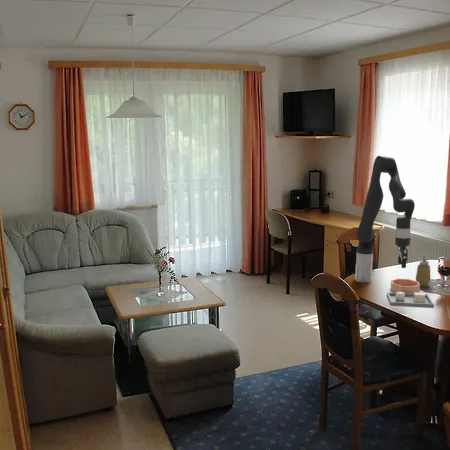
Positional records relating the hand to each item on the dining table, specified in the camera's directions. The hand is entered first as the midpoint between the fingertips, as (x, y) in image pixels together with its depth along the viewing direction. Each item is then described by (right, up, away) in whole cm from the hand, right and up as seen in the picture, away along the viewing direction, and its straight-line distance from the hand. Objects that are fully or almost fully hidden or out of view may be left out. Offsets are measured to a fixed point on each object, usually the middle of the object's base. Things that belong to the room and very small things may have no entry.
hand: (401, 265), depth 272 cm
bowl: (+6, -15, +13) cm, 21 cm away
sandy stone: (+7, -18, -6) cm, 20 cm away
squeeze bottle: (+20, -13, +23) cm, 33 cm away
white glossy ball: (-2, -18, -4) cm, 18 cm away
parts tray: (+2, -19, -5) cm, 19 cm away
